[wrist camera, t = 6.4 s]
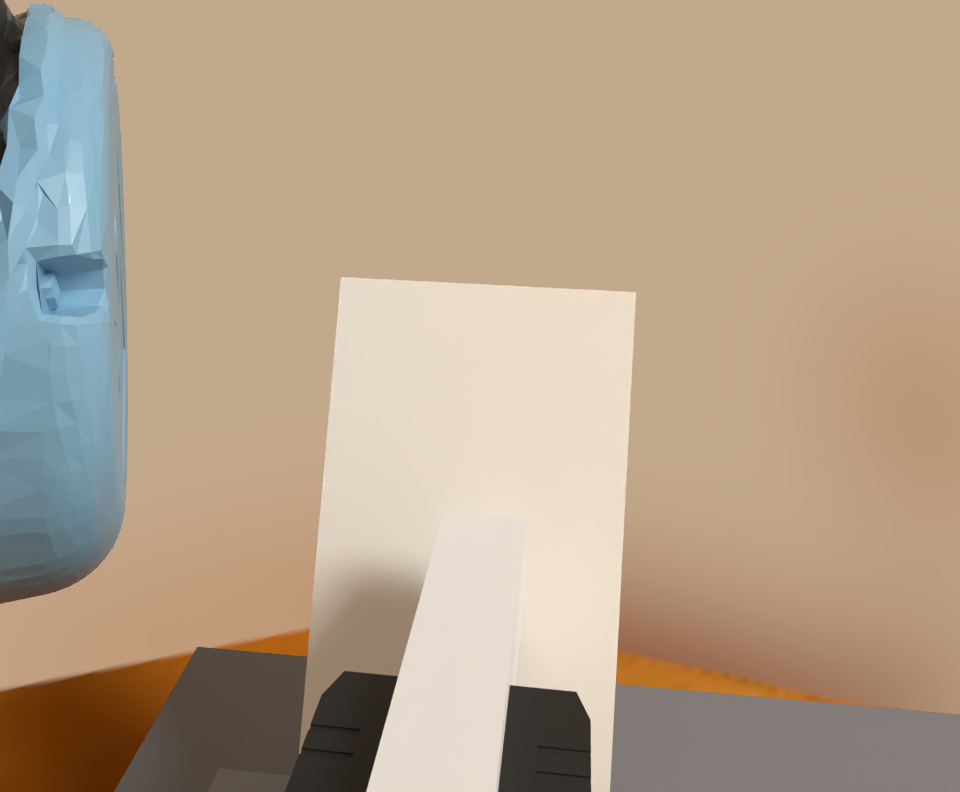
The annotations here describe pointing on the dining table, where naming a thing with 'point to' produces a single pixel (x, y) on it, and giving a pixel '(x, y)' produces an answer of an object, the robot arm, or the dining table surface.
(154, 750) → the switch unit
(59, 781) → the dining table surface
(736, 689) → the dining table surface
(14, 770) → the dining table surface
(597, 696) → the lever
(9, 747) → the dining table surface
